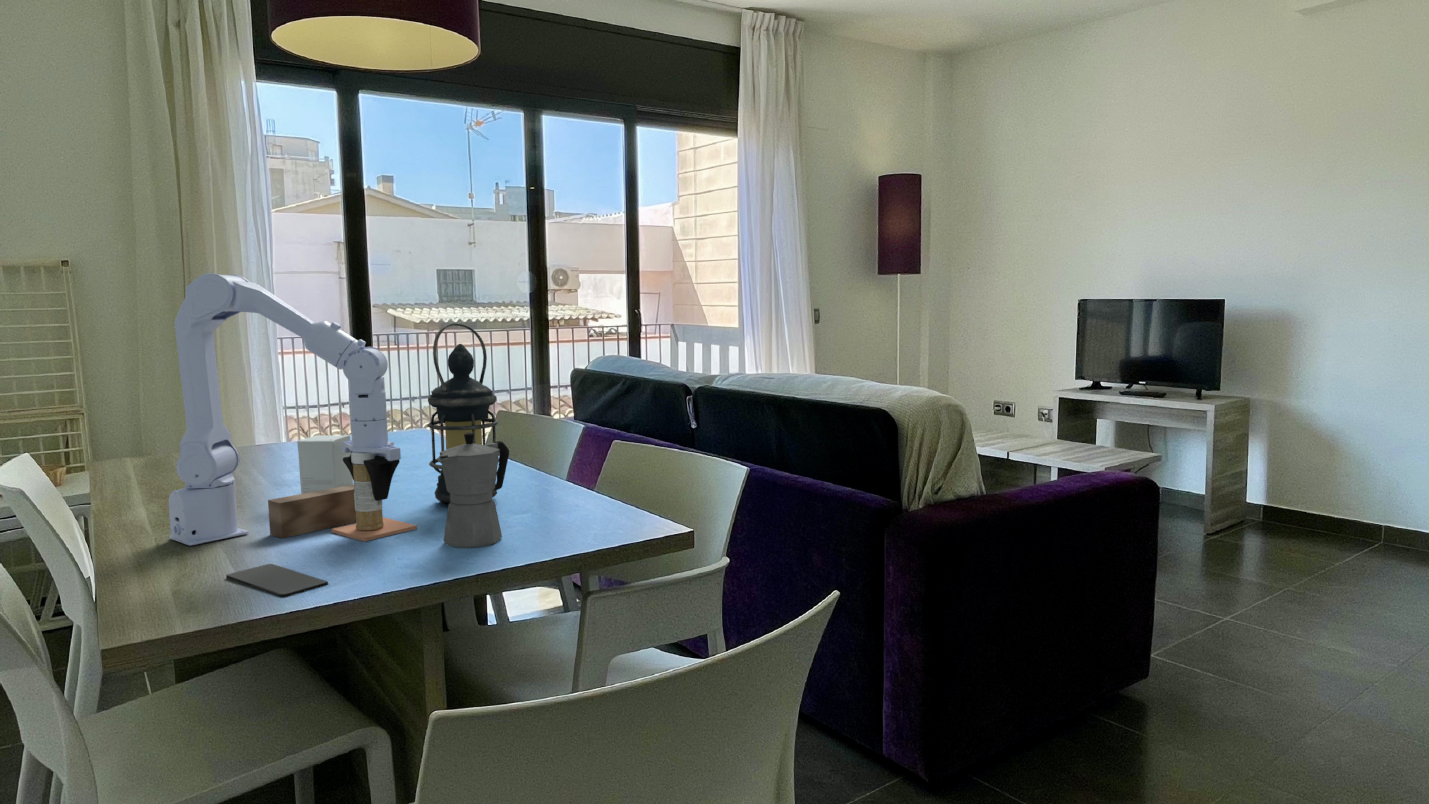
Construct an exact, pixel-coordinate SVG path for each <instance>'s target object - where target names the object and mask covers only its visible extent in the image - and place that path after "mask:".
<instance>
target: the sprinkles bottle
mask: <svg viewBox="0 0 1429 804" xmlns="http://www.w3.org/2000/svg"><path fill="white" fill-rule="evenodd" d="M375 456H376V454H373V453H364V452H352V453H351V461H352V463H353V475H354V480H353V484H354V500H355V510H356V522H355V524H356V529H358V530H365V531H368V530H376V529H380V528H382V527H383V526H384V523H383V517H384V516H383V500H379V501H376V500H375V499H374V496H373V492H372V485H371V480H370V476H369V473H368V471H367V468H366V466H365V464H364V462H363V461H364V460H370V459H375Z"/></svg>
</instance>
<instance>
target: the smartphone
mask: <svg viewBox="0 0 1429 804" xmlns="http://www.w3.org/2000/svg"><path fill="white" fill-rule="evenodd" d="M225 579H226V580H228V581H230V582H234V583H236V584H239V585H242V586H246V587H249V588H252V589H254V590H258V591H261V592H264V593H267V594H270V595H273V596H276V597H279V598H288V597H292V596H295V595H298V594H301V593H305V592H307V591H312V590H316V589H319V588H322V587H326V586H328V585H329V582H328V581H327V580H324V579H320V578H318V577H314V576H312V575H308V574H305V573H302V572H299V571H296V570H292V569H289V568H287V567H284V566H280V565H277V564H274V563H267V564H263V565H259V566H255V567H251V568H248V569H247V568H246V569H244V570H243V569H242V570H238V571H234V572H231V573H227V574H226V578H225Z"/></svg>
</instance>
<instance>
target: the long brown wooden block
mask: <svg viewBox="0 0 1429 804" xmlns="http://www.w3.org/2000/svg"><path fill="white" fill-rule="evenodd" d="M267 504H268V519H269V520H268V521H269V522H268V523H269V535H271V536H273V537H276V538H280V539H284V538H285V539H286V538H289V537H295V536H300V535H304V534H310V533H313V532H317V531H322V530H327V529H333V528H337V527H342V526H346V525H351V524H356V510H355V500H354V483H353V485H348V486H342V487H337V488H331V489H326V490H320V491H315V492H309V493H304V494H301V493H300V494H299V493H298V494H294V495H288V496H284V497H278V498H277V497H276V498H271V499H268V500H267Z"/></svg>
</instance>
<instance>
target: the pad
mask: <svg viewBox="0 0 1429 804" xmlns="http://www.w3.org/2000/svg"><path fill="white" fill-rule="evenodd" d="M383 523H384V526H383V527H382V528H380V529H376V530H368V531H365V530H358V529H356V523H350V524H346V525H341V526H336V527H332V528H330V529H331V530H330V531H331V533H332V534H336V535H340V536H343V537H348V538H349V539H353V540H358V541H361V542H368V541H371V540H376V539H380V538H385V537H388V536H393V535H396V534H397V535H398V534H402V533H405V532H409V531H413V530H417V529H418V525H417V524H414V523H413V524H411V523H409V522H408V523H407V522H405V521H400V520H396V519H393V518H390V517H389V518H388V517H384V516H383Z"/></svg>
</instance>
